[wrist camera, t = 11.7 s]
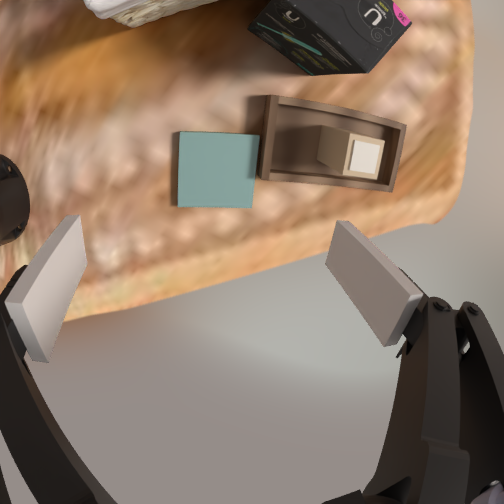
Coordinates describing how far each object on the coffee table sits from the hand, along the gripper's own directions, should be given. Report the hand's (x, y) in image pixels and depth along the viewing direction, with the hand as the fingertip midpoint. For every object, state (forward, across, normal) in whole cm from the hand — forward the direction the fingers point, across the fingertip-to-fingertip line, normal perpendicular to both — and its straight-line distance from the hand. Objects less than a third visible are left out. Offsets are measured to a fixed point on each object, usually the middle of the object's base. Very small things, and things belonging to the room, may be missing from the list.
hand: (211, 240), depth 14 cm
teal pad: (+25, +3, -3) cm, 25 cm away
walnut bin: (+25, +19, +3) cm, 31 cm away
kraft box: (+24, +19, +3) cm, 31 cm away
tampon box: (+25, +11, +18) cm, 33 cm away
